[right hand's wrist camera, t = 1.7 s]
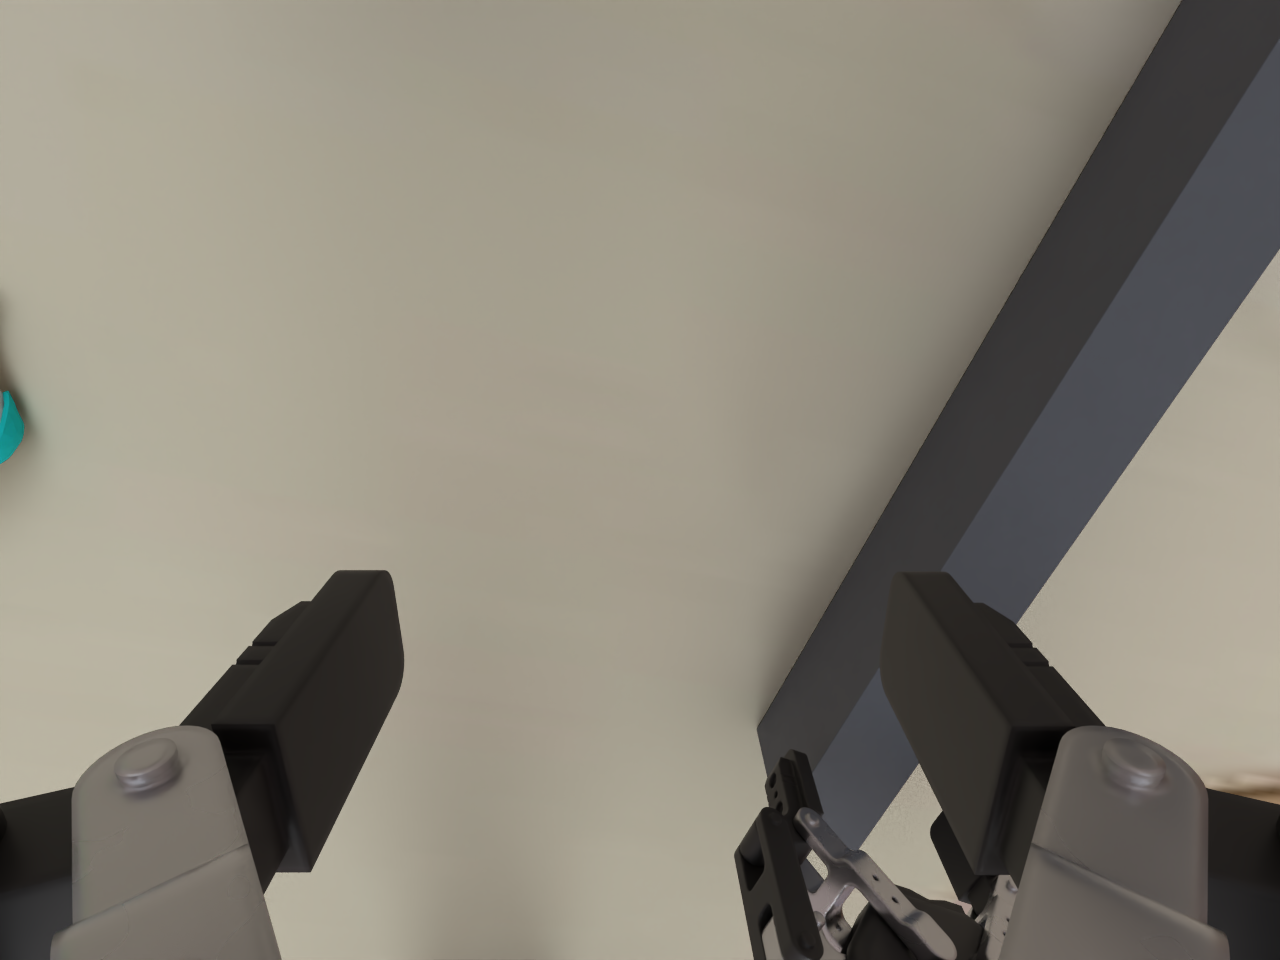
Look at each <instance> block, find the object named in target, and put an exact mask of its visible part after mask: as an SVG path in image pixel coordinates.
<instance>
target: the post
mask: <svg viewBox="0 0 1280 960" xmlns="http://www.w3.org/2000/svg"><path fill="white" fill-rule="evenodd" d="M1279 249H1280V0H1182V2H1181V4H1180V5H1179V7H1178V9H1177V11H1176V12H1175V14H1174V16H1173V17H1172V19H1171V21H1170V23H1169V24H1168V26H1167V28H1166V29H1165V31H1164V33H1163V35H1162V36H1161V38H1160V40H1159V41H1158V43H1157V45H1156V47H1155V48H1154V50H1153V52H1152V53H1151V55H1150V57H1149V59H1148V60H1147V62H1146V64H1145V65H1144V67H1143V69H1142V71H1141V72H1140V74H1139V76H1138V77H1137V79H1136V81H1135V82H1134V84H1133V86H1132V88H1131V89H1130V91H1129V93H1128V94H1127V96H1126V98H1125V100H1124V101H1123V103H1122V105H1121V106H1120V108H1119V110H1118V112H1117V113H1116V115H1115V117H1114V118H1113V120H1112V122H1111V124H1110V125H1109V127H1108V129H1107V130H1106V132H1105V134H1104V136H1103V137H1102V139H1101V141H1100V142H1099V144H1098V146H1097V148H1096V149H1095V151H1094V153H1093V154H1092V156H1091V158H1090V160H1089V161H1088V163H1087V165H1086V166H1085V168H1084V170H1083V172H1082V173H1081V175H1080V177H1079V178H1078V180H1077V182H1076V184H1075V185H1074V187H1073V189H1072V190H1071V192H1070V194H1069V196H1068V197H1067V199H1066V201H1065V202H1064V204H1063V206H1062V207H1061V209H1060V211H1059V213H1058V214H1057V216H1056V218H1055V219H1054V221H1053V223H1052V225H1051V226H1050V228H1049V230H1048V231H1047V233H1046V235H1045V237H1044V238H1043V240H1042V242H1041V243H1040V245H1039V247H1038V249H1037V250H1036V252H1035V254H1034V255H1033V257H1032V259H1031V261H1030V262H1029V264H1028V266H1027V267H1026V269H1025V271H1024V273H1023V274H1022V276H1021V278H1020V279H1019V281H1018V283H1017V285H1016V286H1015V288H1014V290H1013V291H1012V293H1011V295H1010V297H1009V298H1008V300H1007V302H1006V303H1005V305H1004V307H1003V309H1002V310H1001V312H1000V314H999V315H998V317H997V319H996V321H995V322H994V324H993V326H992V327H991V329H990V331H989V332H988V334H987V336H986V338H985V339H984V341H983V343H982V344H981V346H980V348H979V350H978V351H977V353H976V355H975V356H974V358H973V360H972V362H971V363H970V365H969V367H968V368H967V370H966V372H965V374H964V375H963V377H962V379H961V380H960V382H959V384H958V386H957V387H956V389H955V391H954V392H953V394H952V396H951V398H950V399H949V401H948V403H947V404H946V406H945V408H944V410H943V411H942V413H941V415H940V416H939V418H938V420H937V422H936V423H935V425H934V427H933V428H932V430H931V432H930V434H929V435H928V437H927V439H926V440H925V442H924V444H923V446H922V447H921V449H920V451H919V452H918V454H917V456H916V458H915V459H914V461H913V463H912V464H911V466H910V468H909V469H908V471H907V473H906V475H905V476H904V478H903V480H902V481H901V483H900V485H899V487H898V488H897V490H896V492H895V493H894V495H893V497H892V499H891V500H890V502H889V504H888V505H887V507H886V509H885V511H884V512H883V514H882V516H881V517H880V519H879V521H878V523H877V524H876V526H875V528H874V529H873V531H872V533H871V535H870V536H869V538H868V540H867V541H866V543H865V545H864V547H863V548H862V550H861V552H860V553H859V555H858V557H857V559H856V560H855V562H854V564H853V565H852V567H851V569H850V571H849V572H848V574H847V576H846V577H845V579H844V581H843V583H842V584H841V586H840V588H839V589H838V591H837V593H836V594H835V596H834V598H833V600H832V601H831V603H830V605H829V606H828V608H827V610H826V612H825V613H824V615H823V617H822V618H821V620H820V622H819V624H818V625H817V627H816V629H815V630H814V632H813V634H812V636H811V637H810V639H809V641H808V642H807V644H806V646H805V648H804V649H803V651H802V653H801V654H800V656H799V658H798V660H797V661H796V663H795V665H794V666H793V668H792V670H791V672H790V673H789V675H788V677H787V678H786V680H785V682H784V684H783V685H782V687H781V689H780V690H779V692H778V694H777V696H776V697H775V699H774V701H773V702H772V704H771V706H770V708H769V709H768V711H767V713H766V714H765V716H764V718H763V719H762V721H761V723H760V725H759V726H758V728H757V733H758V737H759V741H760V746H761V750H762V755H763V759H764V764H765V768H766V773H767V777H768V776H769V775H770V773H771V771H772V770H773V768H774V767H775V765H776V763H777V762H778V760H779V759H780V757H783V758H784V756H785V755H786V753H787V752H788V750H789V749H793V750H796V751H799V752H802V753H805V754H806V755H807V757H808V760H809V764H810V767H811V771H812V774H813V778H814V781H815V785H816V788H817V791H818V795H819V798H820V802H821V805H822V809H823V812H824V814H823V815H822V817H821V818H822V819H823V820H824V821H825V822H826V823H827V824H828V826H829V827H830V828H831V829H832V830H833V831H834V832H835V834H836V835H837V836H838V837H839V838H840V839H841V840H842V842H843V843H844V844H845V845H846V846H847V847H848V848H849V849H851V850H854V851H855V850H858V849H859V848H860V846H861V845H862V844H863V842H864V841H865V839H866V838H867V836H868V835H869V834H870V832H871V831H872V829H873V828H874V827H875V825H876V824H877V822H878V821H879V819H880V818H881V817H882V815H883V814H884V812H885V811H886V809H887V808H888V807H889V805H890V804H891V802H892V801H893V799H894V798H895V797H896V795H897V794H898V792H899V791H900V789H901V788H902V787H903V785H904V784H905V782H906V781H907V779H908V778H909V777H910V775H911V774H912V772H913V771H914V769H915V768H916V767H917V765H918V764H919V761H918V759H917V757H916V755H915V753H914V751H913V749H912V747H911V745H910V743H909V741H908V739H907V737H906V735H905V733H904V731H903V729H902V727H901V725H900V723H899V721H898V719H897V717H896V715H895V713H894V711H893V709H892V707H891V705H890V703H889V701H888V699H887V697H886V695H885V692H884V689H883V686H882V682H881V676H880V662H879V661H880V650H881V643H882V637H883V630H884V623H885V617H886V610H887V604H888V597H889V591H890V585H891V581H892V578H893V576H894V575H895V573H897V572H899V571H944V572H947V573H949V574H950V575H951V576H952V577H953V578H954V580H955V581H956V582H957V583H958V585H959V586H960V587H961V588H962V589H963V591H964V592H965V593H966V594H967V595H968V597H969V598H970V599H971V600H972V601H973V603H984V604H986V605H988V606H989V607H991V608H992V609H994V610H996V611H997V612H999V613H1000V614H1002V615H1004V616H1005V617H1007V618H1008V619H1010V620H1012V621H1013V622H1014V623H1015V624H1017V623H1018V621H1019V620H1020V618H1021V617H1022V615H1023V614H1024V613H1025V611H1026V610H1027V608H1028V607H1029V606H1030V604H1031V603H1032V601H1033V600H1034V598H1035V597H1036V596H1037V594H1038V593H1039V591H1040V590H1041V588H1042V587H1043V586H1044V584H1045V583H1046V581H1047V580H1048V578H1049V577H1050V576H1051V574H1052V573H1053V571H1054V570H1055V568H1056V567H1057V566H1058V564H1059V563H1060V561H1061V560H1062V558H1063V557H1064V556H1065V554H1066V553H1067V551H1068V550H1069V548H1070V547H1071V546H1072V544H1073V543H1074V541H1075V540H1076V538H1077V537H1078V536H1079V534H1080V533H1081V531H1082V530H1083V529H1084V527H1085V526H1086V524H1087V523H1088V521H1089V520H1090V519H1091V517H1092V516H1093V514H1094V513H1095V511H1096V510H1097V509H1098V507H1099V506H1100V504H1101V503H1102V501H1103V500H1104V499H1105V497H1106V496H1107V494H1108V493H1109V491H1110V490H1111V489H1112V487H1113V486H1114V484H1115V483H1116V481H1117V480H1118V479H1119V477H1120V476H1121V474H1122V473H1123V471H1124V470H1125V469H1126V467H1127V466H1128V464H1129V463H1130V461H1131V460H1132V459H1133V457H1134V456H1135V454H1136V453H1137V452H1138V450H1139V449H1140V447H1141V446H1142V444H1143V443H1144V442H1145V440H1146V439H1147V437H1148V436H1149V434H1150V433H1151V432H1152V430H1153V429H1154V427H1155V426H1156V424H1157V423H1158V422H1159V420H1160V419H1161V417H1162V416H1163V414H1164V413H1165V412H1166V410H1167V409H1168V407H1169V406H1170V404H1171V403H1172V402H1173V400H1174V399H1175V397H1176V396H1177V394H1178V393H1179V392H1180V390H1181V389H1182V387H1183V386H1184V384H1185V383H1186V382H1187V380H1188V379H1189V377H1190V376H1191V375H1192V373H1193V372H1194V370H1195V369H1196V367H1197V366H1198V365H1199V363H1200V362H1201V360H1202V359H1203V357H1204V356H1205V355H1206V353H1207V352H1208V350H1209V349H1210V347H1211V346H1212V345H1213V343H1214V342H1215V340H1216V339H1217V337H1218V336H1219V335H1220V333H1221V332H1222V330H1223V329H1224V327H1225V326H1226V325H1227V323H1228V322H1229V320H1230V319H1231V317H1232V316H1233V315H1234V313H1235V312H1236V310H1237V309H1238V308H1239V306H1240V305H1241V303H1242V302H1243V300H1244V299H1245V298H1246V296H1247V295H1248V293H1249V292H1250V290H1251V289H1252V288H1253V286H1254V285H1255V283H1256V282H1257V280H1258V279H1259V278H1260V276H1261V275H1262V273H1263V272H1264V270H1265V269H1266V268H1267V266H1268V265H1269V263H1270V262H1271V260H1272V259H1273V258H1274V256H1275V255H1276V253H1277V252H1278V250H1279Z"/></svg>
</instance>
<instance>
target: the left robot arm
mask: <svg viewBox="0 0 1280 960" xmlns="http://www.w3.org/2000/svg"><path fill="white" fill-rule="evenodd" d="M765 789H766V794H767V799H768V802H769V807H765V808H763V809H762V810H761V812H760V813H759V815H758V816H757V818H756V820H755V821H754V823H753V824H752V826H751V827H750V829H749V831H748V832H747V834H746V835H745V837H744V838H743V840H742V842H741V843H740V845H739V846H738V848H737V850H736V851H735V854H734V858H735V863H736V868H737V873H738V879H739V884H740V889H741V894H742V899H743V905H744V910H745V915H746V920H747V925H748V931H749V936H750V941H751V946H752V951H753V957H754V960H998V959H999V955H1000V951H1001V948H1002V944H1003V941H1004V937H1005V934H1006V930H1007V927H1008V923H1009V920H1010V916H1011V913H1012V909H1013V905H1014V902H1015V898H1016V895H1017V891H1018V889H1017V887H1016V885H1015V883H1014V881H1013V880H1012V878H1011V876H1010V875H975V874H974V872H973V870H972V868H971V866H970V864H969V862H968V860H967V858H966V856H965V854H964V852H963V850H962V848H961V846H960V844H959V842H958V840H957V838H956V836H955V834H954V832H953V830H952V828H951V826H950V824H949V822H948V820H947V818H946V816H945V814H944V812H943V811H942V812H941V814H940V815H939V816H938V817H937V819H936V820H935V821H934V823H933V824H932V826H931V829H930V836H931V839H932V842H933V844H934V846H935V848H936V850H937V853H938V855H939V857H940V859H941V862H942V864H943V866H944V868H945V871H946V873H947V875H948V877H949V880H950V882H951V884H952V886H953V888H954V891H955V893H956V895H957V897H958V900H959V901H962V902H965V903H968V904H971V905H972V908H971V909H970V910H969V912H968V914H967V915H966V914H965V913H964V911H963V908H962V906H960V905H957V904H954V903H951V902H947V901H942V900H929V899H926V898H925V897H923V896H921V895H919V894H917V893H915V892H914V891H912V890H910V889H907V888H904V887H901V886H898V885H895V884H893V882H892V881H891V880H890V879H889V878H888V877H887V876H886V875H885V873H884V872H883V871H882V870H881V869H880V868H879V867H878V866H877V864H876V863H875V862H874V861H873V860H872V859H871V858H870V857H869V855H868V854H867V853H865V852H864V851H862V850H855V851H852V850H850V849H849V848H848V847H847V846H846V845H845V844H844V843H843V842H842V840H841V839H840V838H839V837H838V836H837V835H836V834H835V832H834V831H833V830H832V829H831V828H830V827H829V826H828V824H827V823H826V822H825V821H824V820H823V819H822V818H821V817H822V815H823V814H824V812H823V809H822V805H821V802H820V798H819V795H818V791H817V788H816V785H815V781H814V778H813V774H812V771H811V767H810V764H809V760H808V757H807V755H806V754H805V753H802V752H799V751H796V750H793V749H789V750H788V752H787V753H786V755H785V756H784V758H783V757H780V759H779V760H778V762H777V763H776V765H775V767H774V768H773V770H772V771H771V773H770V775H769V776H768V778H767V780H766V783H765ZM812 849H813V851H814V852H815V853H816V854H817V855H818V857H819V858H820V859H821V860H822V861H823V863H824V864H825V865H826V867H827V869H828V876H827V878H826V879H825V880H824V879H823V878H822V877H821V876H820V874H819V873H818V872H817V871H816V870H815V868H814V867H813V866H812V865H811V863H810V862H809V861H808V860H807V859H806V857H807V856H808V854H809V853H810V851H811V850H812ZM854 888H857V889H858V890H859V891H860V892H861V893H862V894H863V895H864V897H865V898H866V899H867V900H868V901H869V902H868V903H867V905H866V906H865V907H864V909H863V910H862V911H861V913H860V914H859V915H858V917H857V919H856V921H855V923H854V925H853V927H852V928H851V927H850V925H849V924H848V923H847V922H846V920H845V918H844V916H843V913H842V905H843V903H844V902H845V900H846V899H847V897H848V896H849V895H850V893H851V892H852V891H853V889H854Z"/></svg>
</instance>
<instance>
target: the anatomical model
mask: <svg viewBox="0 0 1280 960" xmlns="http://www.w3.org/2000/svg"><path fill="white" fill-rule="evenodd" d="M23 435H24V423H23V420H22V418H21V417H20V415H19V413H18V411H17V408H16V405H15V403H14V400H13V399H12V397H11V395H10V393H9V391H5V392H3V394H2V392H1V390H0V464H1V463H3V462H4V461H6V460H7V459H9V457H10V456H11V455H12V454H13V453H14V451H15V450H16V448H17V447H18V445H19V444H20V443H21V441H22V438H23Z"/></svg>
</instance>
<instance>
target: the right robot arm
mask: <svg viewBox="0 0 1280 960" xmlns="http://www.w3.org/2000/svg"><path fill="white" fill-rule="evenodd" d="M879 662H880V676H881V682H882V686H883V689H884V692H885V695H886V697H887V699H888V701H889V703H890V705H891V707H892V709H893V711H894V713H895V715H896V717H897V719H898V721H899V723H900V725H901V727H902V729H903V731H904V733H905V735H906V737H907V739H908V741H909V743H910V745H911V747H912V749H913V751H914V753H915V755H916V757H917V759H918V761H919V763H920V765H921V767H922V769H923V771H924V774H925V776H926V778H927V780H928V782H929V784H930V786H931V788H932V790H933V792H934V794H935V796H936V798H937V800H938V802H939V804H940V806H941V808H942V810H943V812H944V814H945V816H946V818H947V820H948V822H949V824H950V826H951V828H952V830H953V832H954V834H955V836H956V838H957V840H958V842H959V844H960V846H961V848H962V850H963V852H964V854H965V856H966V858H967V860H968V862H969V864H970V866H971V868H972V870H973V872H974V874H975V875H1010V876H1011V878H1012V880H1013V881H1014V883H1015V885H1016V887H1017V889H1018V891H1017V895H1016V898H1015V902H1014V905H1013V909H1012V913H1011V916H1010V920H1009V923H1008V927H1007V930H1006V934H1005V937H1004V941H1003V944H1002V948H1001V951H1000V955H999V959H998V960H1280V805H1279V804H1274V803H1270V802H1265V801H1261V800H1256V799H1252V798H1247V797H1243V796H1238V795H1234V794H1229V793H1225V792H1220V791H1216V790H1212V789H1208V788H1206V787H1205V785H1204V783H1203V782H1202V780H1201V779H1200V777H1199V776H1198V774H1197V773H1196V772H1195V771H1194V770H1193V769H1192V768H1191V767H1190V766H1189V765H1188V764H1187V763H1186V762H1184V761H1183V760H1182V759H1181V758H1180V757H1178V756H1177V755H1175V754H1174V753H1173V752H1171V751H1169V750H1168V749H1166V748H1164V747H1163V746H1161V745H1159V744H1157V743H1155V742H1153V741H1151V740H1149V739H1147V738H1145V737H1142V736H1140V735H1137V734H1135V733H1131V732H1128V731H1125V730H1121V729H1117V728H1112V727H1106V726H1105V725H1104V724H1103V723H1102V722H1101V720H1100V719H1099V718H1098V717H1097V716H1096V715H1095V714H1094V713H1093V711H1092V710H1091V709H1090V708H1089V707H1088V706H1087V705H1086V703H1085V702H1084V701H1083V700H1082V699H1081V698H1080V697H1079V696H1078V694H1077V693H1076V692H1075V691H1074V690H1073V689H1072V688H1071V686H1070V685H1069V684H1068V683H1067V682H1066V681H1065V680H1064V679H1063V677H1062V676H1061V675H1060V674H1059V673H1058V672H1057V671H1056V669H1055V668H1054V667H1053V666H1049V662H1048V660H1047V659H1046V658H1045V657H1044V656H1043V655H1042V654H1041V653H1040V651H1039V650H1038V649H1037V648H1033V646H1032V642H1031V641H1030V640H1029V639H1028V638H1027V637H1026V636H1025V634H1024V633H1023V632H1022V631H1021V630H1020V629H1019V628H1018V626H1017V625H1016V624H1015V623H1014V622H1013V621H1012V620H1010V619H1008V618H1007V617H1005V616H1004V615H1002V614H1000V613H999V612H997V611H996V610H994V609H992V608H991V607H989V606H988V605H986V604H984V603H973V601H972V600H971V599H970V598H969V597H968V595H967V594H966V593H965V592H964V591H963V589H962V588H961V587H960V586H959V585H958V583H957V582H956V581H955V580H954V578H953V577H952V576H951V575H950V574H949V573H947V572H944V571H899V572H897V573H895V575H894V576H893V578H892V581H891V585H890V591H889V597H888V604H887V610H886V617H885V623H884V630H883V637H882V643H881V650H880V661H879ZM403 671H404V651H403V644H402V638H401V631H400V624H399V618H398V611H397V604H396V598H395V591H394V585H393V581H392V578H391V575H390V574H389V572H388V571H385V570H339V571H337V572H335V573H334V574H333V575H332V576H331V578H330V579H329V580H328V581H327V582H326V584H325V585H324V586H323V587H322V589H321V590H320V591H319V592H318V593H317V595H316V596H315V597H314V598H313V600H312V601H301V602H299V603H298V604H296V605H295V606H293V607H291V608H290V609H288V610H287V611H285V612H283V613H282V614H280V615H279V616H277V617H276V618H274V619H272V620H271V621H270V622H269V623H268V625H267V626H266V627H265V628H264V629H263V630H262V631H261V633H260V634H259V635H258V636H257V637H256V638H255V639H254V641H253V644H252V646H248V647H247V649H246V650H245V651H244V652H243V653H242V654H241V655H240V657H239V658H238V659H237V663H236V665H232V666H231V667H230V668H229V669H228V670H227V671H226V673H225V674H224V675H223V676H222V677H221V678H220V679H219V681H218V682H217V683H216V684H215V685H214V686H213V687H212V689H211V690H210V691H209V692H208V693H207V694H206V695H205V697H204V698H203V699H202V700H201V701H200V702H199V703H198V705H197V706H196V707H195V708H194V709H193V710H192V711H191V713H190V714H189V715H188V716H187V717H186V718H185V719H184V721H183V722H182V723H181V724H180V725H179V726H174V727H168V728H163V729H159V730H155V731H152V732H149V733H145V734H143V735H140V736H138V737H135V738H133V739H131V740H129V741H127V742H125V743H123V744H121V745H119V746H117V747H116V748H114V749H112V750H111V751H109V752H107V753H106V754H105V755H103V756H102V757H100V758H99V759H98V760H97V761H96V762H94V763H93V764H92V765H91V766H90V767H89V768H88V769H87V770H86V771H85V772H84V773H83V774H82V776H81V777H80V779H79V780H78V782H77V783H76V785H75V787H73V788H68V789H64V790H59V791H55V792H50V793H46V794H41V795H37V796H32V797H28V798H23V799H19V800H14V801H10V802H5V803H1V804H0V960H282V959H281V955H280V951H279V948H278V944H277V941H276V937H275V934H274V930H273V927H272V923H271V920H270V916H269V913H268V909H267V905H266V902H265V898H264V893H265V891H266V889H267V888H268V886H269V884H270V882H271V880H272V878H273V876H274V875H275V873H276V872H311V871H312V868H313V866H314V864H315V862H316V860H317V858H318V856H319V854H320V852H321V850H322V848H323V846H324V844H325V842H326V840H327V838H328V836H329V834H330V832H331V830H332V828H333V826H334V824H335V821H336V819H337V817H338V815H339V813H340V811H341V809H342V807H343V805H344V803H345V801H346V799H347V797H348V795H349V793H350V791H351V789H352V787H353V785H354V783H355V781H356V779H357V776H358V774H359V772H360V770H361V768H362V766H363V764H364V762H365V760H366V758H367V756H368V754H369V752H370V750H371V748H372V746H373V744H374V742H375V740H376V738H377V736H378V734H379V732H380V729H381V727H382V725H383V723H384V721H385V719H386V717H387V715H388V713H389V711H390V709H391V707H392V705H393V703H394V701H395V699H396V697H397V695H398V692H399V690H400V687H401V683H402V678H403Z"/></svg>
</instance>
